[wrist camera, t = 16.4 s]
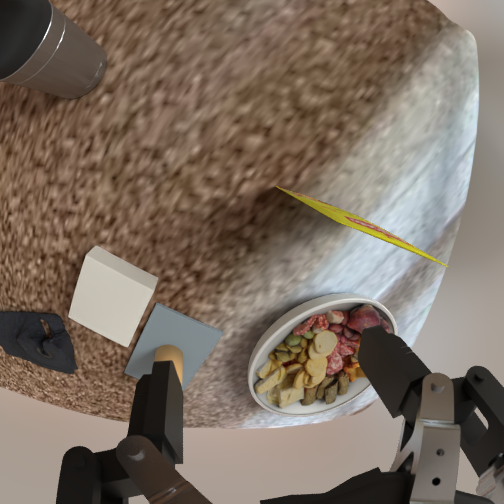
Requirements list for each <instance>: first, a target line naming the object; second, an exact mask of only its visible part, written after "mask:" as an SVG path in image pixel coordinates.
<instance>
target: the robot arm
mask: <svg viewBox="0 0 504 504" xmlns="http://www.w3.org/2000/svg"><path fill="white" fill-rule="evenodd" d="M106 64H107V58H106V54H105V51H104V50H103V48H102V47H101V46H100V45H99V44H98V43H96V42H95V41H94V40H93V39H92V38H91V37H90V36H89V35H88V34H87V33H85V32H84V31H83V30H82V29H81V28H80V27H79V26H78V25H76V24H75V23H74V22H73V21H72V20H71V19H69V18H68V17H67V16H66V15H65V14H64V13H62V12H61V11H60V10H59V9H58V8H56V7H55V6H54V5H53V4H52V3H50V2H49V1H48V0H0V81H1V82H6V83H10V84H15V85H19V86H23V87H27V88H31V89H35V90H38V91H42V92H46V93H49V94H52V95H56V96H59V97H63V98H67V99H76V98H79V97H82V96H84V95H85V94H87V93H88V92H90V91H91V90H92V89H93V88H94V87H95V86H96V85H97V84H98V83H99V81H100V80H101V78H102V76H103V74H104V72H105V69H106ZM358 363H359V366H360V368H361V369H362V371H363V372H364V374H365V375H366V377H367V378H368V380H369V381H370V383H371V385H372V386H373V388H374V389H375V391H376V392H377V394H378V395H379V397H380V398H381V400H382V401H383V403H384V405H385V406H386V408H387V409H388V411H389V412H390V414H391V416H392V417H393V418H395V417H397V416H400V415H403V416H404V420H403V424H402V429H401V435H400V440H399V444H398V449H397V453H396V457H395V460H394V462H393V464H392V466H391V468H390V471H389V472H381V471H380V469H379V468H378V467H377V468H375V469H372V470H370V471H368V472H365V473H362V474H360V475H357V476H354V477H352V478H350V479H349V480H347V481H345V482H344V483H342V484H340V485H339V486H337V487H335V488H333V489H332V490H330V491H328V492H326V493H321V494H304V495H288V496H283V497H278V498H273V499H268V500H261V501H260V504H504V387H503V386H502V385H501V384H500V383H499V382H498V380H496V378H495V377H494V376H493V375H492V374H491V373H490V371H489V370H487V369H486V368H484V367H482V366H473V367H471V368H470V369H469V370H468V372H467V374H466V376H465V377H460V378H455V379H450V378H449V377H448V376H446V375H444V374H442V373H432V372H431V371H430V370H429V369H428V368H427V367H426V365H425V364H424V363H423V362H422V361H421V360H420V359H419V358H418V356H417V355H416V354H415V353H414V352H412V350H411V349H410V347H408V346H407V344H406V343H405V342H404V341H403V340H402V339H401V338H400V337H398V336H396V335H395V334H393V333H388V332H387V331H386V330H385V329H384V328H383V327H382V326H381V325H375V326H372V327H368V328H365V329H363V331H362V335H361V340H360V345H359V350H358ZM477 407H478V409H479V410H480V411H481V413H482V414H483V416H484V417H485V418H486V420H487V421H488V430H487V429H486V427H485V426H484V424H483V423H482V421H481V420H480V419H479V418H478V416H477V415H476V413H475V412H474V410H475V409H476V408H477ZM460 447H461V448H462V450H463V451H464V453H465V455H466V456H467V458H468V460H469V461H470V463H471V465H472V467H473V468H474V470H475V472H476V473H477V475H478V477H479V483H478V486H477V488H476V493H477V494H478V495H481V496H477V495H473V494H469V493H465V492H461V491H458V490H456V482H457V475H458V465H459V452H460ZM175 464H183V391H182V386H181V383H180V380H179V377H178V374H177V371H176V368H175V365H174V363H173V361H172V360H166V361H154V363H153V367H152V373H151V374H143V376H142V377H141V378H140V380H139V381H138V382H137V385H136V390H135V396H134V400H133V405H132V411H131V417H130V422H129V429H128V434H127V437H126V438H124V439H123V440H122V441H120V443H119V444H118V446H117V447H116V448H114V449H111V450H107V451H102V452H96V453H93V452H92V451H91V450H89V449H88V448H86V447H83V446H77V447H73V448H71V449H69V450H68V451H67V452H66V453H65V454H64V456H63V460H62V465H61V471H60V477H59V484H58V491H57V498H56V504H128V497H133V496H138V495H144V496H145V497H146V499H147V500H148V501H149V503H150V504H212V503H211V502H210V501H209V500H208V499H207V498H206V497H205V496H203V495H202V494H201V493H200V492H199V491H198V490H197V489H196V488H195V487H194V486H193V485H192V484H191V483H189V482H188V481H186V480H185V479H184V478H183V477H182V476H181V475H180V474H179V473H178V472H177V470H175Z"/></svg>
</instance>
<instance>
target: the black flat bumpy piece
mask: <svg viewBox="0 0 504 504" xmlns="http://www.w3.org/2000/svg"><path fill="white" fill-rule="evenodd" d="M40 318H41V319H43V320H45V321H46V322H47V323H48V325H49V329H50V331H51V335H52V337H51V338H48V339H47V337H46V335H45V334H46V333H45V330H44V328H43V326H42V324H41V322H40ZM63 330H64V331H63ZM0 345H1V346H2V348H3V349H4V351H5V352H6V353H7V354H9V355H12V356H15V357H20V358H22V359H24V360H27V361H30V362H32V363H34V364H37V365H40V366H41V367H45V368H48V369H52V370H55V371H59V372H64V373H68V374H72V373H74V369H78V367H77V365H76V362H75V359H74V349H73V345H72V342H71V339H70V336H69V334H68V333H67V331H66V330H65V326H64V324H63V323H62V321H61V317H59V316H58V315H56V314H51V315H50V314H43V313H35V312H0Z"/></svg>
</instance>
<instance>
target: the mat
mask: <svg viewBox="0 0 504 504" xmlns="http://www.w3.org/2000/svg"><path fill="white" fill-rule="evenodd" d="M222 335H223V331H221V330H218V329H216V328H214V327H211V326H209V325H206V324H204V323H202V322H199V321H197V320H195V319H193V318H190V317H188V316H186V315H184V314H181V313H179V312H177V311H175V310H173V309H170V308H168V307H166V306H164V305H162V304H160V303H158V302H157V303H156V305H155V307H154V309H153V311H152V313H151V315H150V317H149V319H148V321H147V324H146V326H145V328H144V330H143V332H142V334H141V336H140V338H139V340H138V342H137V345H136V347H135V349H134V351H133V353H132V355H131V358H130V360H129V362H128V364H127V366H126V369H125V371H124V373H125V374H128V375H130V376H132V377H135V378H137V379H140V378H141V377H142V376H143V374H151V373H152V367H153V363H154V359H155V353H156V350H157V348H158V347H160V346H162V345H173V346H176V347H178V348H179V349H180V350H181V351H182V353H183V375H182V391H183V390H184V389H185V388H186V386H187V385H188V383H189V382H190V381H191V379H192V378H193V376H194V375H195V373H196V372H197V371H198V369H199V368H200V366H201V365H202V363H203V362H204V361H205V359H206V358H207V356H208V355H209V353H210V352H211V350H212V349H213V348H214V346H215V345H216V343H217V342H218V340H219V339H220V337H221V336H222Z"/></svg>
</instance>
